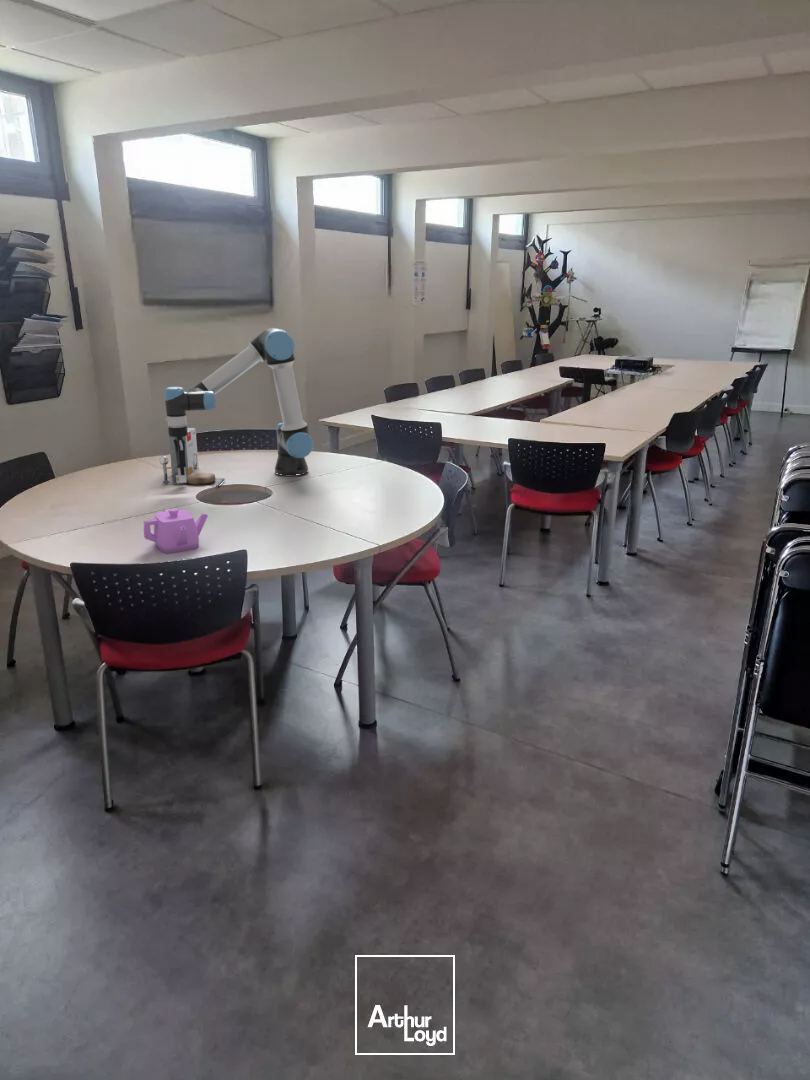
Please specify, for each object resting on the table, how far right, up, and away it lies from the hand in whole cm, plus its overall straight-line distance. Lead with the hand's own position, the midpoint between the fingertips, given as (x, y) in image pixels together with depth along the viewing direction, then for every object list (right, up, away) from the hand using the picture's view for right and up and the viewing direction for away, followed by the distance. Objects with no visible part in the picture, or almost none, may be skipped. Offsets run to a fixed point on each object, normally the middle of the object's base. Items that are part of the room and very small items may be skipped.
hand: (183, 482), depth 294 cm
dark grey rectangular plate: (+2, 0, +8) cm, 9 cm away
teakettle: (+18, -26, -62) cm, 69 cm away
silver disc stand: (-9, +1, +7) cm, 11 cm away
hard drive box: (-7, +5, +25) cm, 26 cm away
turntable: (+3, +1, +7) cm, 8 cm away
